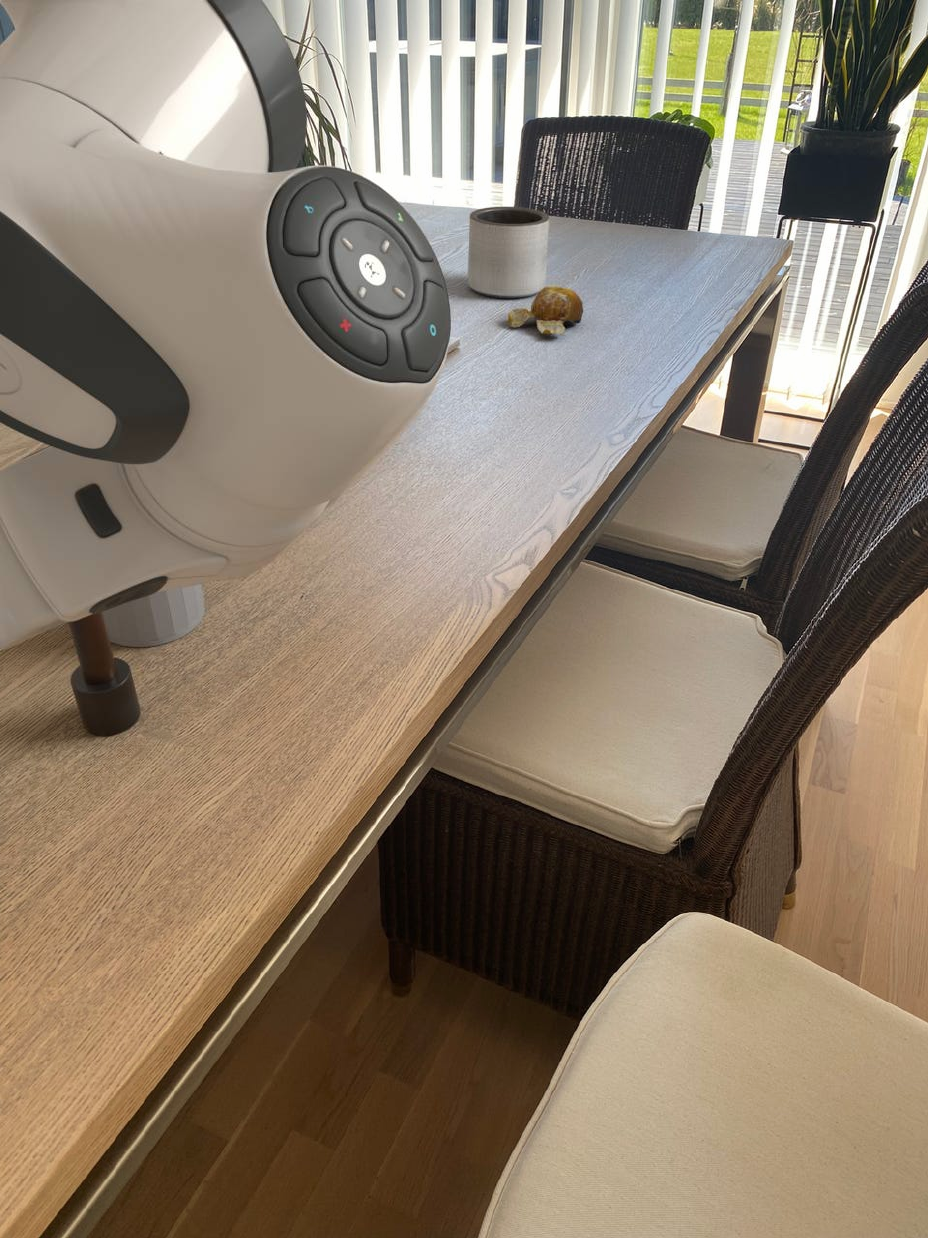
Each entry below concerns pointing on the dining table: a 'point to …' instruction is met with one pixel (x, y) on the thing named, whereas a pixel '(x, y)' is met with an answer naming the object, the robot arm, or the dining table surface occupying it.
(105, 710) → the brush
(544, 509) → the dining table surface
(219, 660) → the dining table surface
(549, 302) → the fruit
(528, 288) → the planter
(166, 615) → the gray cylindrical container
